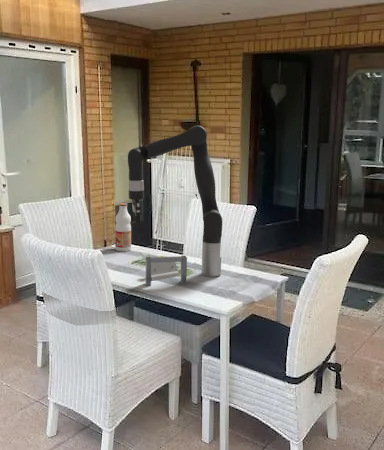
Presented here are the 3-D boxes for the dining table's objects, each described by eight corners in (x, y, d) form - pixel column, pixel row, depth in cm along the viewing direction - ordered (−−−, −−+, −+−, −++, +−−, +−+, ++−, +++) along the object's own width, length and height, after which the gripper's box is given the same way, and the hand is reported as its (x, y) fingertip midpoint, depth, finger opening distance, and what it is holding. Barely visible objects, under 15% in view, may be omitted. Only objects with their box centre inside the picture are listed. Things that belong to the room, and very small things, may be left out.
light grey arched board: (151, 280, 239) (148, 260, 240) (147, 281, 243) (143, 261, 244) (180, 275, 249) (177, 256, 250) (175, 276, 253) (172, 257, 254)
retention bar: (184, 281, 240) (185, 255, 237) (186, 284, 236) (187, 257, 233) (145, 283, 236) (145, 256, 233) (146, 285, 232) (146, 259, 229)
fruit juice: (130, 251, 292) (130, 205, 287) (114, 251, 292) (114, 204, 286) (131, 248, 301) (132, 202, 296) (116, 247, 301) (116, 202, 296)
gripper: (145, 191, 237) (146, 224, 241) (141, 187, 251) (142, 218, 254) (130, 191, 236) (130, 224, 239) (127, 187, 249) (127, 219, 252)
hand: (136, 221), depth 247 cm, fingers open, 8 cm apart
